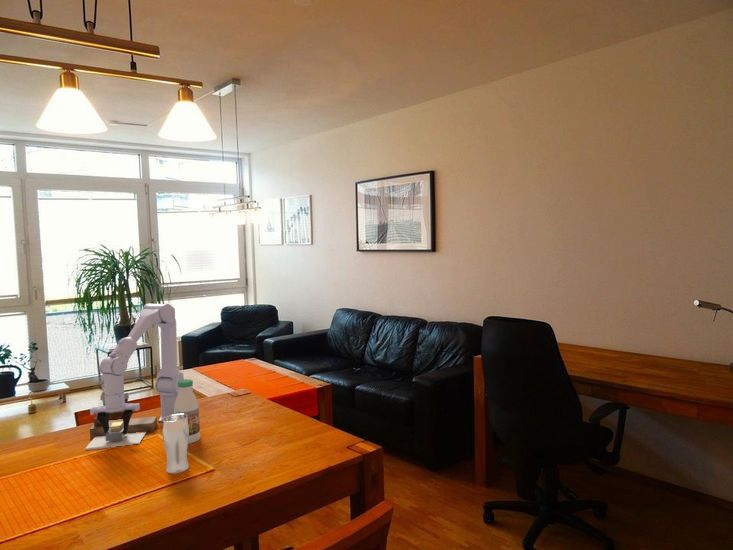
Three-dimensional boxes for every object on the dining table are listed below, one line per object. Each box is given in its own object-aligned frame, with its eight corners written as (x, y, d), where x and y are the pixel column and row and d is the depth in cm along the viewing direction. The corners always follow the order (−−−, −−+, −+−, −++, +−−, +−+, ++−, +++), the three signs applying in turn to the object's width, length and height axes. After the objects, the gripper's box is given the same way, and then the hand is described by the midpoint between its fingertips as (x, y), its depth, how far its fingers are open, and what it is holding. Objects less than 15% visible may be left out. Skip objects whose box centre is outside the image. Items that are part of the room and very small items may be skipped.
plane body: (157, 424, 176) (156, 409, 176) (153, 431, 169) (152, 415, 169) (96, 430, 172) (95, 415, 171) (90, 437, 165) (89, 421, 165)
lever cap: (127, 431, 165) (127, 420, 165) (122, 439, 158) (121, 427, 158) (111, 433, 164) (111, 421, 164) (105, 441, 157) (104, 429, 157)
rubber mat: (146, 433, 167) (146, 431, 167) (139, 444, 158) (139, 442, 158) (95, 438, 164) (95, 436, 164) (85, 450, 154) (85, 448, 154)
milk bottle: (169, 443, 158) (167, 382, 157) (187, 435, 165) (184, 376, 164) (188, 446, 155) (185, 384, 154) (205, 437, 162) (202, 378, 161)
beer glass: (165, 476, 134) (163, 423, 133) (163, 467, 140) (161, 416, 140) (192, 471, 137) (189, 418, 137) (188, 461, 143) (186, 411, 143)
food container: (94, 419, 184) (92, 393, 183) (109, 414, 189) (108, 389, 188) (115, 424, 178) (113, 397, 177) (130, 419, 183) (128, 392, 183)
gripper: (86, 398, 155) (88, 440, 155) (135, 394, 158) (137, 435, 158) (93, 392, 161) (95, 432, 162) (140, 388, 165) (142, 427, 165)
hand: (116, 433), depth 161 cm, fingers closed on lever cap, 5 cm apart
